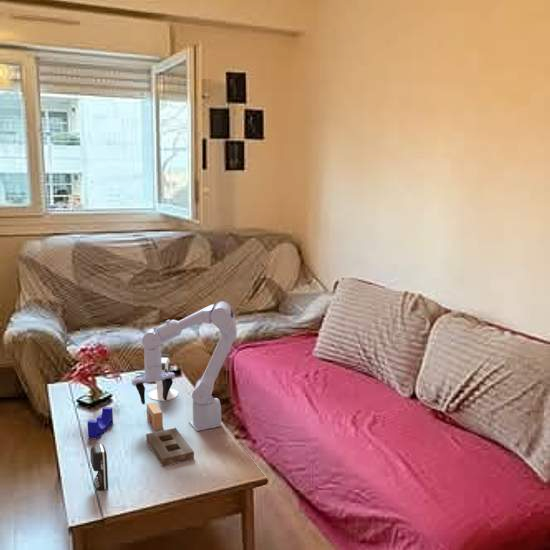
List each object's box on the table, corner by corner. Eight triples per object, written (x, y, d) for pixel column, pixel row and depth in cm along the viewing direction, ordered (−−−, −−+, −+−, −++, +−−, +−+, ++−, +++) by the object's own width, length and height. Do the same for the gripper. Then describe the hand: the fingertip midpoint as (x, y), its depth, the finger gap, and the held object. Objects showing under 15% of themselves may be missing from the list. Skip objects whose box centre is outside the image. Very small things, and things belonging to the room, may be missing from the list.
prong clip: (155, 418, 212) (154, 402, 211) (162, 428, 204) (162, 412, 203) (147, 419, 210) (146, 403, 209) (154, 430, 203) (153, 413, 201)
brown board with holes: (175, 434, 199) (175, 427, 199) (194, 459, 184) (193, 451, 183) (146, 440, 195) (146, 433, 194) (162, 466, 179) (162, 458, 179)
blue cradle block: (101, 422, 208) (100, 406, 207) (113, 423, 207) (112, 407, 206) (84, 438, 197) (83, 421, 195) (96, 439, 196) (95, 422, 195)
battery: (91, 480, 171) (89, 444, 169) (104, 477, 173) (102, 441, 171) (94, 492, 165) (92, 455, 163) (108, 489, 167) (106, 452, 164)
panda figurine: (175, 401, 226) (174, 364, 223) (145, 401, 226) (144, 363, 223) (180, 389, 237) (179, 353, 234) (152, 388, 238) (151, 353, 235)
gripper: (170, 357, 209) (170, 393, 212) (128, 363, 203) (130, 400, 206) (176, 363, 203) (177, 400, 206) (134, 370, 197) (135, 408, 200)
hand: (154, 401), depth 205 cm, fingers open, 7 cm apart
